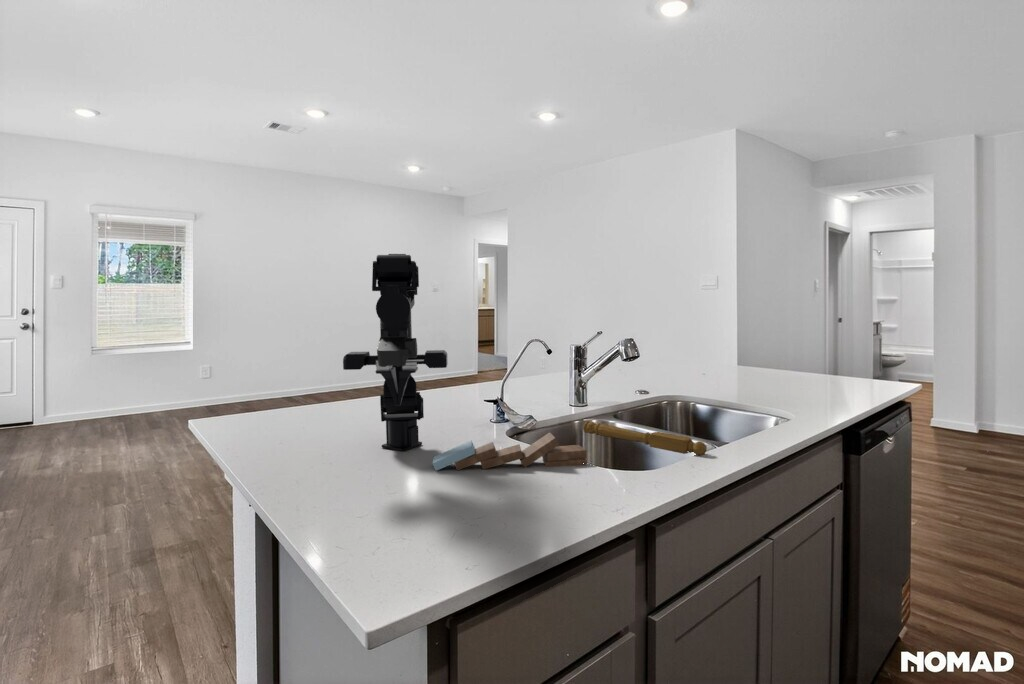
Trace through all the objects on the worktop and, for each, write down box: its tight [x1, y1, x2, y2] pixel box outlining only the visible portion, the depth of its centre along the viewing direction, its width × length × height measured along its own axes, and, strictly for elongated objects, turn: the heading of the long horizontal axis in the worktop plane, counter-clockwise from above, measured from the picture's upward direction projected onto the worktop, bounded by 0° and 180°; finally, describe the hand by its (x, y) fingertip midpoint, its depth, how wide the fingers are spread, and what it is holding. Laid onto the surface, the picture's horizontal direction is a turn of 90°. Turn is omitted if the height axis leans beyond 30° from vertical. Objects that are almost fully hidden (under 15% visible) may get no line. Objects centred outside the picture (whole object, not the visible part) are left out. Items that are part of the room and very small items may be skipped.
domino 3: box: [480, 443, 523, 470], centre depth 109 cm, size 2×4×8 cm
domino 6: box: [542, 457, 588, 468], centre depth 111 cm, size 2×4×8 cm
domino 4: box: [519, 432, 560, 468], centre depth 110 cm, size 2×4×8 cm
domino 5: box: [541, 444, 587, 461], centre depth 111 cm, size 2×4×8 cm
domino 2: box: [453, 441, 497, 471], centre depth 108 cm, size 2×4×8 cm
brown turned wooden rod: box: [582, 421, 707, 456], centre depth 125 cm, size 3×3×30 cm
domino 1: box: [432, 439, 476, 472], centre depth 108 cm, size 2×4×8 cm
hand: (398, 405), depth 106 cm, fingers closed
